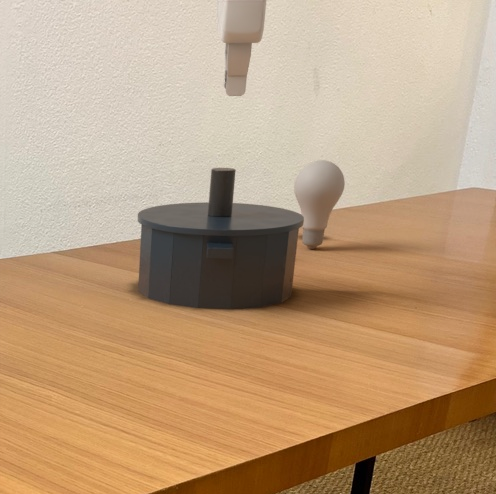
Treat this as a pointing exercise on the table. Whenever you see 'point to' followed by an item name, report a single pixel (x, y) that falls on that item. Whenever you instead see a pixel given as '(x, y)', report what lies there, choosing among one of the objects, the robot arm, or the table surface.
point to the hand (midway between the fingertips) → (233, 92)
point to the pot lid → (221, 214)
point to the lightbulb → (317, 197)
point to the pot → (216, 269)
